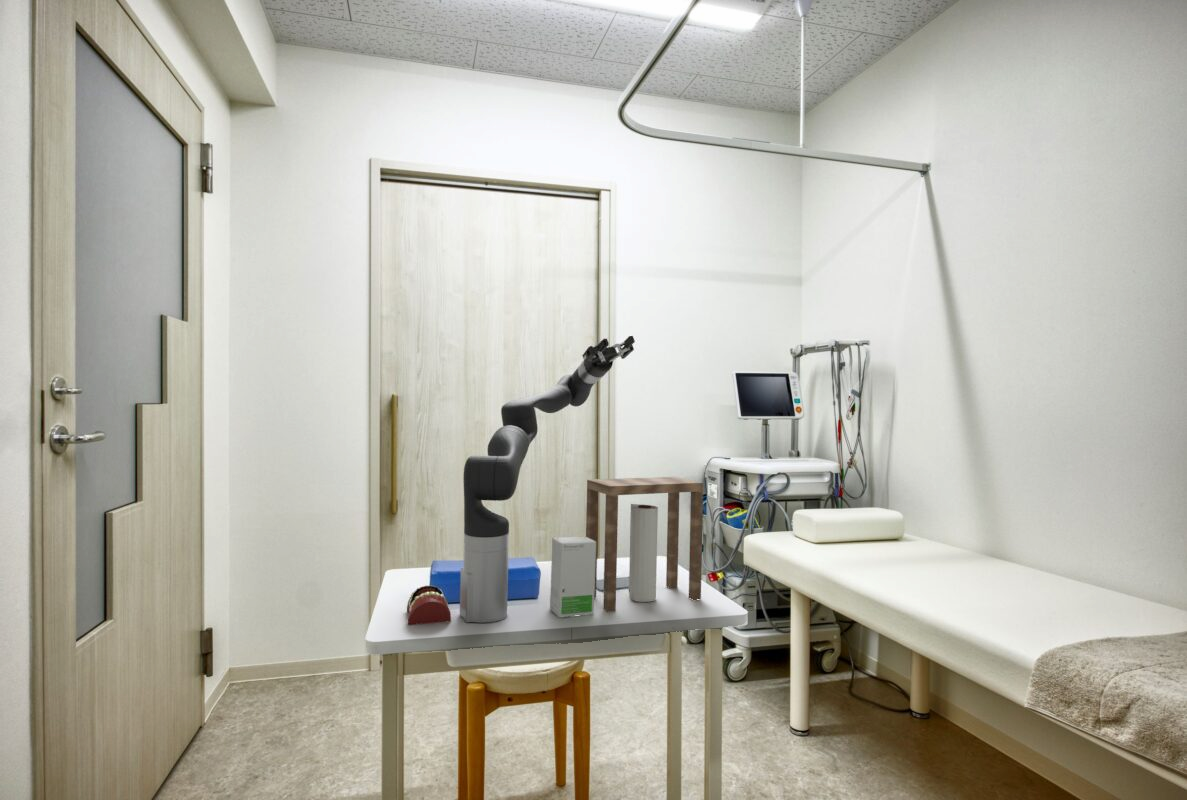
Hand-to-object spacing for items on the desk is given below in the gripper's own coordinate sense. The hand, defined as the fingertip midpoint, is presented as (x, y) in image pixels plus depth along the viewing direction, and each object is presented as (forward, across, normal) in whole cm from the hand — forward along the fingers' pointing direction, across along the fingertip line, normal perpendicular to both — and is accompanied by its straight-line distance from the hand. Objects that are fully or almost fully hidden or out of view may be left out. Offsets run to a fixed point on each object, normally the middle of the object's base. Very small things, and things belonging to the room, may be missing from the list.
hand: (619, 339), depth 173 cm
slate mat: (-13, +18, -60) cm, 64 cm away
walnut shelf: (-2, +19, -65) cm, 68 cm away
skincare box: (0, +38, -63) cm, 73 cm away
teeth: (-8, +65, -55) cm, 86 cm away
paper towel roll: (-2, +19, -65) cm, 68 cm away
